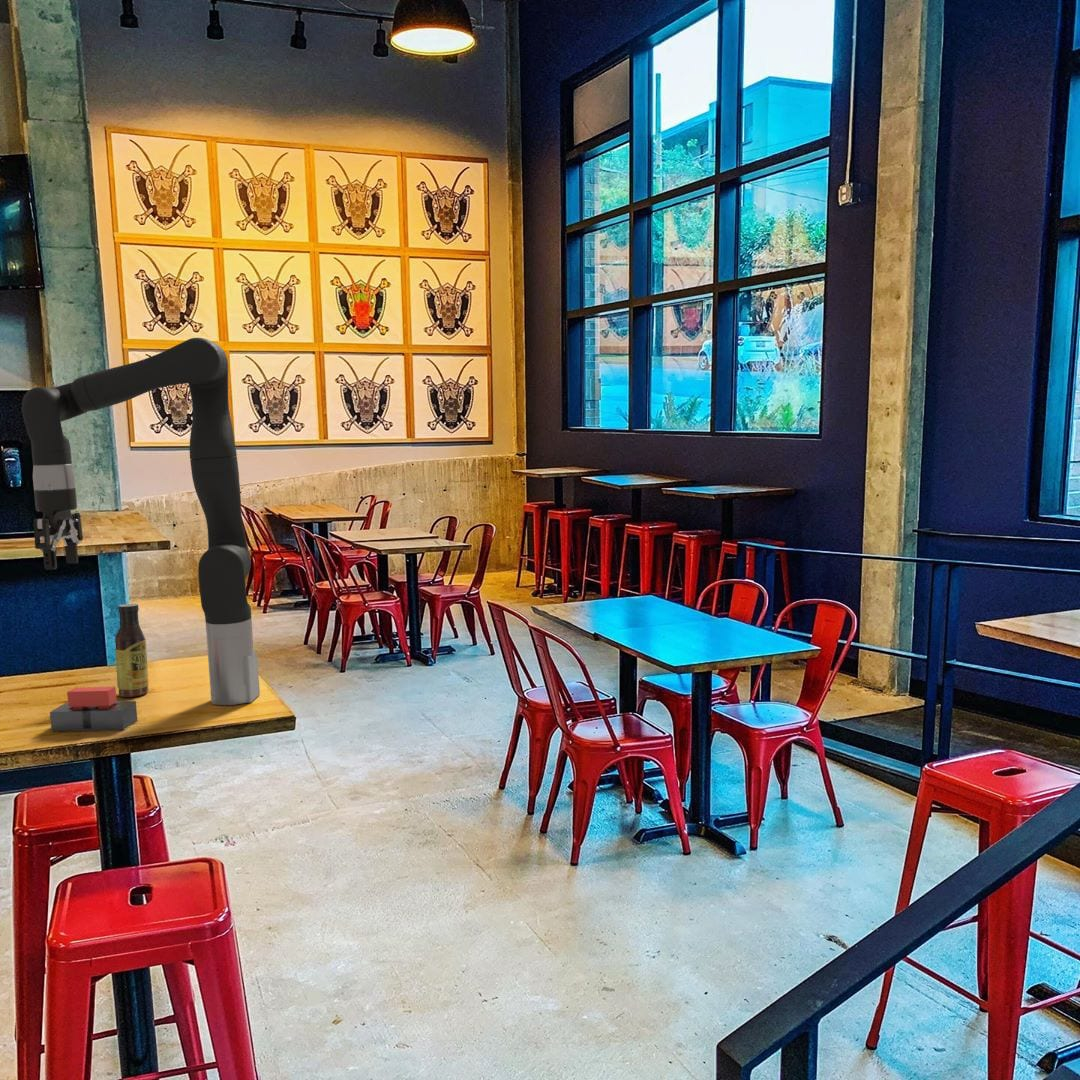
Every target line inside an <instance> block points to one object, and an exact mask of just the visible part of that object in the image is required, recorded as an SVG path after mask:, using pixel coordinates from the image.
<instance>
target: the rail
mask: <svg viewBox="0 0 1080 1080" xmlns="http://www.w3.org/2000/svg"><path fill="white" fill-rule="evenodd" d="M49 718H50V729H51V732H52V731H79V732H101V731H100V730H121V731H125V730H126V729H125V728H127V727H128V726H129V727H131V726H132V725H134V724H135V723H136V722H138V712H137V701H136V700H129V701H126V700H124V701H123V700H122V701H116V702H115V703H113V707H112V708H111V709H98V706H88V708H86V709H73V707H69V706H68V702H65V703H63V704H61V705H59V706H58V707H56V708H54V709H52V710H51V711H49ZM131 724H132V725H131ZM130 725H131V726H130ZM129 727H128V728H129ZM128 728H127V729H128ZM124 729H125V730H124Z"/></svg>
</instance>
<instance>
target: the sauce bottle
mask: <svg viewBox="0 0 1080 1080" xmlns="http://www.w3.org/2000/svg"><path fill="white" fill-rule="evenodd" d="M117 609H118V610H117V611H118V613H119V628H118V631H117V633H116V635H115V639H114V641H115V647H114V648H115V650H114V652H115V664H116V665H115V666H116V679H117V681H116V682H117V683H116V684H117V689H118V696H119V697H121V698H134V697H140V696H144V695H146V694H147V693H148V692H149V684H150V683H149V670H148V665H149V664H148V652H147V651H148V649H147V639H146V637H145V635H144V633H143V630H142V628H141V625H140V620H139V610H140V609H139V604H138V603H126V604H119V605H118V606H117Z"/></svg>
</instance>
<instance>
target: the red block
mask: <svg viewBox="0 0 1080 1080" xmlns="http://www.w3.org/2000/svg"><path fill="white" fill-rule="evenodd" d="M116 689H117V688H116V686H91V687H90V686H80V687H79V686H78V687H77V686H76V687H73V688H71V689H69V690H68V691H67V692H66V693H67V695H66V696H67V703H68V706H69V707H73V709H86V708H88V706H98V709H111V708H112V707H113V703H115V702H118V700H117V693H116V692H117V690H116Z"/></svg>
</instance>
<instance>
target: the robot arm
mask: <svg viewBox="0 0 1080 1080" xmlns="http://www.w3.org/2000/svg"><path fill="white" fill-rule="evenodd" d="M184 384H188V387H189V392H190V393H189V394H190V399H191V404H192V405H191V406H192V421H191V427H190V435H189V460H190V469H191V470H190V471H191V476H192V477H191V478H192V483H193V486H194V490H195V493H196V496H197V498H198V501H199V503H200V505H201V509H202V511H203V514H204V516H205V521H206V526H207V527H206V528H207V542H208V543H207V544H208V545H207V547H208V549H207V550H205V552H204V553H203V554H202V555H201V557H200V559H199V561H198V567H197V568H198V569H197V571H198V573H197V574H198V575H197V577H198V585H199V595H200V603H201V609H202V611H203V613H204V618H205V620H204V622H205V632H206V634H205V635H206V648H207V650H206V651H207V659H208V660H207V661H208V675H209V688H210V692H209V693H210V698H211V699H210V701H211V703H212V704H213V705H218V706H235V705H241V704H242V705H243V704H247V703H248V704H249V703H252V702H254V701H255V700H256V699H257V698H258V697H259V696H260V695H261V694H260V691H261V690H260V677H259V676H260V675H259V663H258V662H259V661H258V660H259V659H258V652H257V651H255V649H254V635H253V633H254V632H253V620H252V619H253V618H252V608H251V604H249V602H248V597H247V589H246V588H247V587H246V578H247V576H248V575H249V573H250V570H251V566H252V561H251V555H250V550H249V546H248V542H247V538H246V534H245V528H244V524H243V518H242V517H243V516H242V499H241V497H242V496H241V486H240V472H239V463H238V454H237V447H236V442H235V436H234V435H235V434H234V429H233V423H232V418H231V413H230V404H229V403H230V402H229V361H228V357H227V354H226V352H225V351H224V349H223V348H222V347H221V345H218V343H217V342H214V341H211V340H209V339H206V338H202V337H192V338H189V339H186V340H185V341H182V342H180V343H178V344H176V345H174V346H173V347H170V348H168V349H166V350H164V351H162V352H158V353H157V354H154V355H152V356H149V357H147V358H143V359H141V360H138V361H135V362H130V363H127V364H124V365H119V366H115V367H110V368H107V369H103V370H100V371H97V372H93V373H89V374H86V375H83V376H82V375H81V376H80V377H77V378H76V379H74V380H73V381H72V382H70V383H66V384H65V383H64V384H61V385H59V386H53V387H44V386H37V387H32V388H30V389H29V390H28V391H27V392H26V393H24V396H23V398H22V400H21V401H22V402H21V413H22V417H23V421H24V425H25V429H26V431H27V435H28V438H29V440H30V441H29V442H30V443H31V459H32V465H33V466H32V467H33V468H32V482H33V484H32V485H33V493H34V503H35V504H34V505H35V510H36V512H39V513H42V514H43V515H42V518H34V519H33V536H34V548H35V549H36V550H40V551H41V552H42V554H43V555H42V557H43V564H44V565H43V566H44V570H46V571H51V570H57V568H58V561H57V553H56V552H57V551H56V548H57V546H58V543H59V542H60V541H61V540H63V543H64V545H65V546H64V551H65V552H64V553H65V561H66V564H68V565H69V564H78V563H79V553H78V552H79V551H78V545H79V544H80V542H81V541H83V540H84V535H83V527H82V519H81V513H80V512H71V511H74V510H76V509H77V508H78V502H77V490H76V479H75V472H74V468H73V462H72V461H73V459H72V452H71V451H72V449H71V444H70V443H71V442H70V440H69V438H68V437H67V436H66V435H64V432H63V428H62V422H64V421H68V420H70V419H73V418H76V417H78V416H81V415H83V414H85V413H86V414H87V412H93V411H97V410H100V409H104V408H107V407H111V406H116V405H118V404H122V403H124V402H127V401H130V400H132V399H134V398H136V397H139V396H141V395H144V394H146V393H148V392H151V391H155V390H157V389H161V388H164V387H169V386H175V385H184Z"/></svg>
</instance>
